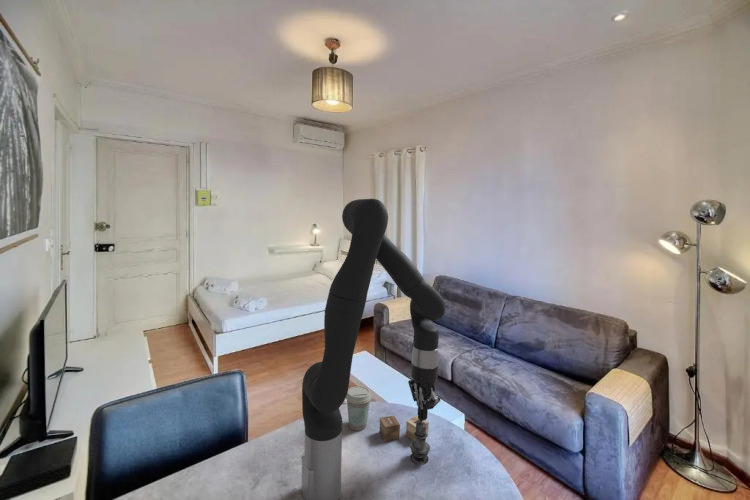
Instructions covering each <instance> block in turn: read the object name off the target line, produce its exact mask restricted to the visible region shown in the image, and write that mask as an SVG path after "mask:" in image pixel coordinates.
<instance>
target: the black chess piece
mask: <svg viewBox="0 0 750 500" xmlns="http://www.w3.org/2000/svg"><path fill="white" fill-rule="evenodd" d="M414 435H415V441H414V440H412V441H411V443H409V448H410V451H411V454H410V460H411V461H412V462H413V463H414V464H416V465H419V466H420V465H421V466H422V465H426V464H428V463H429V456H428V455H429V453H430V451H431V446H430V444H429V443H428V442H426V437H427V434H426V424H425V423H424V422H422V421H421V420H420V421H419V422H417V423H416V432H415V433H414ZM427 438H428V437H427Z"/></svg>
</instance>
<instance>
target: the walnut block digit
mask: <svg viewBox="0 0 750 500" xmlns="http://www.w3.org/2000/svg"><path fill="white" fill-rule="evenodd" d="M400 429H401V424H400V422H399V421H398V419H397V418H396V416H395V415H391V416H390V415H389V416H382V417H379V434H380V436H381V438H382V439H383V441H384V443H385V442H391V441H398V440H400V434H401V430H400Z"/></svg>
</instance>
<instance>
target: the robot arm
mask: <svg viewBox="0 0 750 500" xmlns="http://www.w3.org/2000/svg"><path fill="white" fill-rule="evenodd" d="M341 219H342V223H343V226H344V228H345V229H346V230H347V231H348V232H349V233H350V234H351V239H350V244H349V248H348V252H347V254H346V257H345V259H344V261H343V262H342V264H341V267H340V268H339V269H338V271H337V273H336V275H335V276H334V278H333V280H332V282H331V284H330V287H329V291H328V296H327V299H326V303H325V308H324V314H323V315H324V319H323V322H324V323H323V326H324V327H323V328H324V329H323V331H324V351H323V356H322V357H323V358H322V361H318V362H315V363H313V364H311V365H310V366H309V367H308V368H307V369H306V371H305V374H303V379H302V383H301V386H302V387H301V395H302V396H301V397H302V398H301V401H302V419H303V424H304V445H303V446H304V448H303V449H304V454H303V456H301V494H302V497H303V498H304V500H340V498H341V494H342V491H341V490H342V460H343V459H342V457H343V456H342V454H343V453H342V452H343V417H342V414H341V409H340V407H341V406H342V405H343V403H344V402H345V400H346V396H347V392H348V390H349V386H350V379H351V370H352V365H353V364H352V363H353V357H354V352H355V348H356V343H357V339H358V335H359V332H360V327H361V322H362V318H363V315H364V311H365V307H366V303H367V298H368V293H369V287H370V285H371V281H372V276H373V273H374V268H375V264H376V260H377V262H379V264H380V265H381V267H383V269H384V270H385V272H387V273H386V274H388V275H389V277H390V278H391V279H392V281H393V283H394V284H395V285H396V286H397V287H398V289H399V290H400V291H401V293H402V294H403V295H405V296H406V297H407V298H409V299H410V303H409V313H410V318H411V323H412V325H411V326H412V327H413V341H412V345H413V346H412V350H411V351H412V352H411V368H410V370H411V371H410V377H411V378H412V379H409V380H407V381H408V387H409V390H410V393H411V396H412V399H413V402H416V406H417V416H418V419H419V420H421V421H424V420H426V421H427V419H428V411H429V410H433V409H434V408H435V407H436V406H437V405H438V404H439V403H440V402H441V397H440V396H437V394H436V393H435V392H436V386H435V383H436V381H437V380H438V375H439V373H438V372H439V358H440V357H439V336H440V333H439V329H438V328H437V327H436V326H435V324H434V323H433V322H432V321H439V320H441V318H443V317H444V315H445V313H446V302H445V301H444V299H443V297H442V296H441V294H440V293H439V292H438V290H437V289H435V288H434V287H433V286H432V285H431V283H429V282H427V281H426V279H425V277H424V276H423V275H422V273H421V272H420V271H419V269H418V268H417V266H416V265H415V264H414V263H413V261H412V260H411V259H410V258H409V257H408V256H407V255H406V254H405V253H404V252H403V251H402V250H401V249H400V248H399V247H397V245H395V244H394V243H393V241H392V240H390V239H389V237H388V236H387V235H386V234H385V233H386V230H387V227H388V223H389V213H388V209H387V206H386V205H385V204H384V203H383V202H382V201H381V200H379V199H376V198H362V199H361V198H360V199H355V200H351V201H350V202H348V203H347V204H346V205H345V207H344V208H343V210H342V215H341Z"/></svg>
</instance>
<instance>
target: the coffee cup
mask: <svg viewBox="0 0 750 500" xmlns="http://www.w3.org/2000/svg"><path fill="white" fill-rule="evenodd" d="M345 400H346V405H347V406H346V407H347V416H348V426H349V428H350V429H351V430H353V431H354V432H355V431H357V432H358V431H362V430H363V431H364V430H365V429H366V427H367V425H368V420H369V419H368V418H369V410H370V406H371V405H370V403H371V400H372V394H371V391H370V389H369V388H368V387H366V386H362V385H357V386H352V387H350V388H348V392H347V396H346V398H345Z"/></svg>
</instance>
